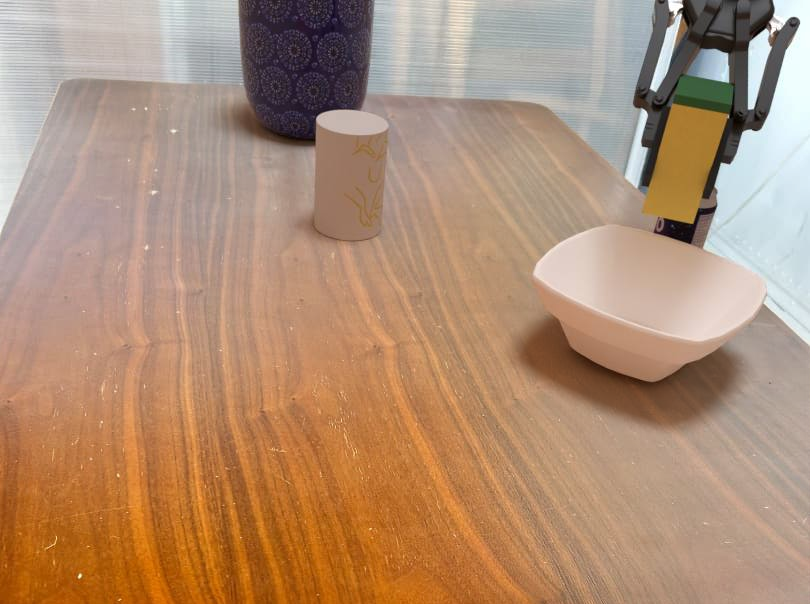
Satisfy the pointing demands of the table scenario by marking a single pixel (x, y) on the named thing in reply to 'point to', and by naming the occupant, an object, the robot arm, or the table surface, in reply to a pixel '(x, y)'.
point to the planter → (304, 59)
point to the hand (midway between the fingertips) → (677, 185)
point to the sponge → (688, 148)
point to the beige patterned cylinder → (349, 174)
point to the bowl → (644, 299)
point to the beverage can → (690, 232)
